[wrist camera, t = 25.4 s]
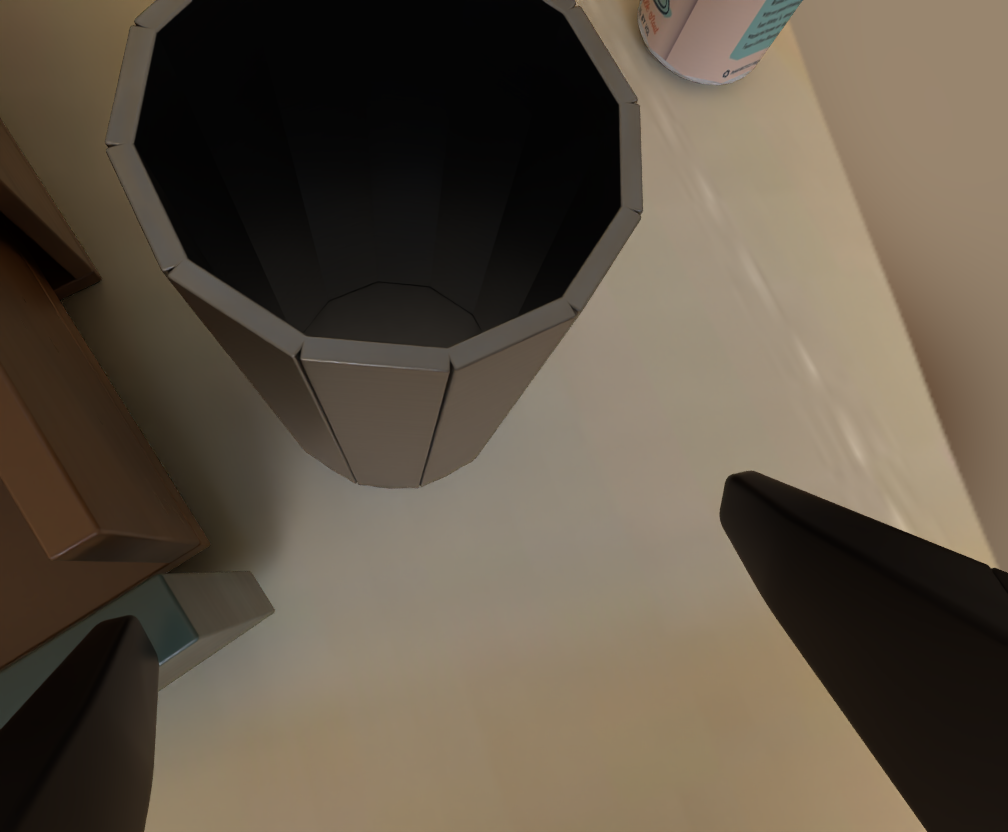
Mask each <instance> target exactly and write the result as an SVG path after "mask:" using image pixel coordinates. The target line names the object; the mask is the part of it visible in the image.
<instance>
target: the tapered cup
mask: <svg viewBox="0 0 1008 832" xmlns="http://www.w3.org/2000/svg"><path fill="white" fill-rule="evenodd" d="M575 5H576V2H575V1H574V0H156V1H155V2H154V3H152V4H151V5H150V6H149V7H148V8H147V9H146V10H145V11H143V12H142V13H141V14H140V15H139V16H138V17H137V18H136V19H135V20H134V22H135V24H136V26H134V25H133V26H131V27H130V30H129V35H128V39H127V44H126V48H125V53H124V57H123V62H122V66H121V71H120V75H119V80H118V85H117V89H116V94H115V98H114V103H113V107H112V112H111V116H110V121H109V125H108V130H107V134H106V139H105V143H106V145H107V147H108V148H107V149H106V153H107V155H108V157H109V159H110V161H111V163H112V166H113V168H114V170H115V172H116V174H117V176H118V178H119V181H120V183H121V185H122V187H123V189H124V191H125V193H126V196H127V198H128V200H129V202H130V204H131V206H132V209H133V211H134V213H135V215H136V217H137V219H138V221H139V224H140V226H141V228H142V230H143V232H144V234H145V236H146V239H147V241H148V243H149V245H150V247H151V249H152V251H153V254H154V256H155V258H156V260H157V262H158V264H159V267H160V269H161V270H162V272H163V273H164V274H165V276H166V277H167V278H168V279H169V281H170V282H171V283H172V284H173V286H174V287H175V288H176V289H177V291H178V292H179V293H180V294H181V296H182V297H183V298H184V299H185V301H186V302H187V303H188V304H189V306H190V307H191V308H192V310H193V311H194V312H195V313H196V315H197V316H198V317H199V318H200V320H201V321H202V322H203V323H204V325H205V326H206V327H207V328H208V330H209V331H210V332H211V333H212V335H213V336H214V337H215V338H216V340H217V341H218V342H219V344H220V345H221V346H222V347H223V349H224V350H225V351H226V352H227V354H228V355H229V356H230V357H231V359H232V360H233V361H234V362H235V364H236V365H237V366H238V367H239V369H240V370H241V371H242V372H243V374H244V375H245V376H246V377H247V379H248V380H249V381H250V383H251V384H252V385H253V386H254V388H255V389H256V390H257V391H258V393H259V394H260V395H261V396H262V398H263V399H264V400H265V401H266V403H267V404H268V405H269V406H270V408H271V409H272V410H273V411H274V413H275V414H276V415H277V417H278V418H279V419H280V420H281V422H282V423H283V424H284V425H285V427H286V428H287V429H288V430H289V432H290V433H291V434H292V435H293V437H294V438H295V439H296V440H297V442H298V443H299V444H300V445H301V447H302V448H303V449H304V450H305V451H306V452H307V453H308V454H310V455H311V456H313V457H315V458H316V459H318V460H319V461H321V462H322V463H323V464H325V465H326V466H327V467H329V468H330V469H331V470H333V471H335V472H336V473H338V474H340V475H342V476H344V477H346V478H347V479H349V480H350V481H352V482H353V483H355V484H356V483H357V482H358V484H359V485H370V486H374V487H383V488H407V487H411V488H418V487H419V486H421V487H423V486H425V485H427V484H429V483H431V482H434V481H436V480H438V479H441V478H443V477H445V476H447V475H449V474H451V473H452V472H454V471H456V470H458V469H459V468H461V467H463V466H464V465H466V464H468V463H470V462H472V461H473V460H474V459H476V457H477V456H478V455H479V453H480V452H481V450H482V449H483V448H484V446H485V445H486V444H487V442H488V441H489V439H490V438H491V437H492V435H493V434H494V432H495V431H496V430H497V428H498V427H499V426H500V424H501V423H502V421H503V420H504V419H505V417H506V416H507V414H508V413H509V412H510V410H511V409H512V408H513V406H514V405H515V403H516V402H517V401H518V399H519V398H520V397H521V395H522V394H523V392H524V391H525V390H526V388H527V387H528V385H529V384H530V383H531V381H532V380H533V379H534V377H535V376H536V374H537V373H538V372H539V370H540V369H541V367H542V366H543V365H544V363H545V362H546V361H547V359H548V358H549V356H550V355H551V354H552V352H553V351H554V350H555V348H556V347H557V345H558V344H559V343H560V341H561V340H562V338H563V337H564V336H565V334H566V333H567V332H568V330H569V329H570V327H571V326H572V325H573V323H574V322H575V320H576V319H577V318H578V316H579V315H580V314H581V312H582V311H583V309H584V308H585V306H586V304H587V303H588V301H589V300H590V298H591V297H592V295H593V293H594V292H595V290H596V289H597V287H598V286H599V284H600V282H601V281H602V279H603V278H604V276H605V275H606V273H607V271H608V270H609V268H610V267H611V265H612V264H613V262H614V260H615V259H616V257H617V256H618V254H619V253H620V251H621V249H622V248H623V246H624V245H625V243H626V242H627V240H628V238H629V237H630V235H631V234H632V232H633V231H634V229H635V227H636V226H637V224H638V223H639V221H640V220H641V216H640V215H641V213H642V212H643V194H642V160H641V127H640V105H638V104H636V103H637V101H638V99H637V97H636V95H635V94H634V92H633V90H632V89H631V87H630V85H629V84H628V82H627V81H626V79H625V77H624V76H623V74H622V73H621V71H620V69H619V68H618V66H617V64H616V63H615V61H614V60H613V58H612V56H611V55H610V53H609V52H608V50H607V48H606V47H605V45H604V43H603V42H602V40H601V39H600V37H599V35H598V34H597V32H596V31H595V29H594V27H593V26H592V24H591V22H590V21H589V19H588V18H587V16H586V14H585V13H584V11H583V9H582V8H581V7H580V6H577V7H575Z"/></svg>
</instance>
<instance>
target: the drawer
mask: <svg viewBox="0 0 1008 832" xmlns="http://www.w3.org/2000/svg"><path fill="white" fill-rule="evenodd" d="M209 546H210V542H209V540H208V539H207V537H206V535H205V534H204V532H203V530H202V529H201V527H200V526H199V524H198V522H197V521H196V519H195V518H194V516H193V514H192V513H191V511H190V510H189V508H188V506H187V505H186V503H185V502H184V500H183V498H182V497H181V495H180V493H179V492H178V490H177V489H176V487H175V485H174V484H173V482H172V481H171V479H170V477H169V476H168V474H167V473H166V471H165V469H164V468H163V466H162V465H161V463H160V461H159V460H158V458H157V456H156V455H155V453H154V452H153V450H152V448H151V447H150V445H149V444H148V442H147V440H146V439H145V437H144V436H143V434H142V432H141V431H140V429H139V428H138V426H137V424H136V423H135V421H134V420H133V418H132V416H131V415H130V413H129V411H128V410H127V408H126V407H125V405H124V403H123V402H122V400H121V399H120V397H119V395H118V394H117V392H116V391H115V389H114V387H113V386H112V384H111V383H110V381H109V379H108V378H107V376H106V374H105V373H104V371H103V370H102V368H101V366H100V365H99V363H98V362H97V360H96V358H95V357H94V355H93V354H92V352H91V350H90V349H89V347H88V346H87V344H86V342H85V341H84V339H83V338H82V336H81V334H80V333H79V331H78V329H77V328H76V326H75V325H74V323H73V321H72V320H71V318H70V317H69V315H68V313H67V312H66V310H65V309H64V307H63V305H62V304H61V302H60V301H59V299H58V297H57V296H56V294H55V292H54V291H53V289H52V288H51V286H50V284H49V283H48V281H47V280H46V278H45V276H44V275H43V273H42V272H41V270H40V268H39V267H38V265H37V264H36V262H35V260H34V259H33V257H32V255H31V254H30V252H29V251H28V249H27V247H26V246H25V244H24V243H23V241H22V239H21V238H20V236H19V235H18V233H17V231H16V230H15V228H14V227H13V225H12V223H11V222H10V221H9V220H8V219H6V218H5V217H4V216H3V215H2V214H1V213H0V729H1V728H2V727H3V726H4V725H5V724H6V723H7V722H8V721H9V719H10V718H11V717H12V716H13V715H14V714H15V713H16V712H17V711H18V710H19V708H20V707H21V706H22V705H23V704H24V703H25V702H26V701H27V700H28V699H29V698H30V696H31V695H32V694H33V693H34V692H35V691H36V690H37V689H38V688H39V687H40V686H41V684H42V683H43V682H44V681H45V680H46V679H47V678H48V677H49V676H50V675H51V673H52V672H53V671H54V670H55V669H56V668H57V667H58V666H59V665H60V664H61V663H62V661H63V660H64V659H65V658H66V657H67V656H68V655H69V654H70V653H71V652H72V651H73V649H74V648H75V647H76V646H77V645H78V644H79V643H80V642H81V641H82V640H83V638H84V637H85V636H86V635H87V634H88V633H89V632H90V631H91V630H92V629H93V628H94V627H95V626H96V625H97V624H98V623H100V622H102V621H105V620H109V619H113V618H117V617H122V616H126V615H133V616H135V617H136V618H137V619H138V620H139V621H140V623H141V625H142V627H143V629H144V630H145V632H146V634H147V636H148V638H149V640H150V642H151V643H152V645H153V647H154V649H155V651H156V653H157V656H158V661H159V683H158V691H160V690H161V689H163V688H164V687H166V686H167V685H169V684H170V683H172V682H173V681H175V680H176V679H177V678H179V677H180V676H182V675H183V674H185V673H186V672H188V671H189V670H191V669H192V668H194V667H195V666H197V665H198V664H200V663H201V662H203V661H204V660H205V659H207V658H208V657H210V656H211V655H213V654H214V653H216V652H217V651H219V650H220V649H222V648H223V647H225V646H226V645H228V644H229V643H230V642H232V641H233V640H235V639H236V638H238V637H239V636H241V635H242V634H244V633H245V632H247V631H248V630H250V629H251V628H253V627H254V626H256V625H257V624H258V623H260V622H261V621H263V620H264V619H266V618H267V617H269V616H270V615H272V614H273V613H274V612H275V609H274V608H273V606H272V604H271V603H270V601H269V600H268V598H267V596H266V595H265V593H264V592H263V590H262V588H261V587H260V585H259V584H258V582H257V580H256V579H255V577H254V576H253V574H252V572H250V571H233V572H196V573H167V572H169V571H171V570H172V569H174V568H175V567H177V566H179V565H180V564H182V563H183V562H185V561H187V560H188V559H190V558H191V557H193V556H195V555H196V554H198V553H199V552H201V551H203V550H204V549H206V548H207V547H209Z"/></svg>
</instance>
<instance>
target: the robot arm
mask: <svg viewBox="0 0 1008 832" xmlns="http://www.w3.org/2000/svg"><path fill="white" fill-rule="evenodd" d="M720 521H721V524H722V527H723V529H724V531H725V532H726V534H727V536H728V538H729V539H730V541H731V543H732V545H733V547H734V548H735V550H736V552H737V554H738V555H739V557H740V559H741V561H742V562H743V564H744V566H745V568H746V570H747V571H748V573H749V575H750V577H751V578H752V580H753V582H754V584H755V585H756V587H757V589H758V591H759V592H760V594H761V596H762V597H763V599H764V601H765V602H766V604H767V605H768V607H769V608H770V610H771V611H772V613H773V614H774V616H775V617H776V619H777V620H778V622H779V623H780V624H781V626H782V627H783V629H784V630H785V631H786V633H787V634H788V636H789V637H790V639H791V640H792V641H793V643H794V644H795V646H796V647H797V648H798V650H799V651H800V653H801V654H802V656H803V657H804V658H805V660H806V661H807V663H808V664H809V665H810V667H811V668H812V670H813V671H814V672H815V674H816V675H817V677H818V678H819V680H820V681H821V682H822V684H823V685H824V687H825V688H826V689H827V691H828V692H829V694H830V695H831V696H832V698H833V699H834V701H835V702H836V704H837V705H838V706H839V708H840V709H841V711H842V712H843V713H844V715H845V716H846V718H847V719H848V721H849V722H850V723H851V725H852V726H853V728H854V729H855V730H856V732H857V733H858V735H859V736H860V737H861V739H862V740H863V742H864V743H865V745H866V746H867V747H868V749H869V750H870V752H871V753H872V754H873V756H874V757H875V759H876V760H877V761H878V763H879V764H880V766H881V767H882V769H883V770H884V771H885V773H886V774H887V776H888V777H889V778H890V780H891V781H892V783H893V784H894V785H895V787H896V788H897V790H898V791H899V793H900V794H901V795H902V797H903V798H904V800H905V801H906V802H907V804H908V805H909V807H910V808H911V810H912V811H913V812H914V814H915V815H916V817H917V818H918V819H919V821H920V822H921V824H922V825H923V826H924V828H925V829H926V831H927V832H1008V573H1007V572H1004V571H1002V570H999V569H997V568H992V569H991V568H990V567H989V566H988V565H986V564H984V563H981V562H979V561H977V560H974V559H972V558H969V557H967V556H964V555H962V554H959V553H957V552H954V551H952V550H949V549H947V548H944V547H942V546H939V545H937V544H934V543H932V542H929V541H927V540H924V539H922V538H919V537H917V536H914V535H912V534H909V533H907V532H904V531H902V530H899V529H897V528H894V527H892V526H889V525H887V524H884V523H882V522H880V521H877V520H875V519H872V518H870V517H867V516H865V515H862V514H860V513H857V512H855V511H852V510H850V509H847V508H845V507H842V506H840V505H837V504H835V503H832V502H830V501H827V500H825V499H822V498H820V497H817V496H815V495H812V494H810V493H807V492H805V491H802V490H800V489H797V488H795V487H792V486H790V485H787V484H785V483H783V482H780V481H778V480H775V479H773V478H770V477H768V476H765V475H763V474H760V473H758V472H755V471H745V472H741V473H736V474H732V475H730V476H729V477H728V478H727V479H726V482H725V486H724V491H723V497H722V502H721V507H720ZM158 683H159V661H158V656H157V653H156V651H155V649H154V647H153V645H152V643H151V642H150V640H149V638H148V636H147V634H146V632H145V630H144V629H143V627H142V625H141V623H140V621H139V620H138V619H137V618H136V617H135V616H133V615H126V616H122V617H117V618H113V619H109V620H105V621H102V622H100V623H98V624H97V625H96V626H95V627H94V628H93V629H92V630H91V631H90V632H89V633H88V634H87V635H86V636H85V637H84V638H83V640H82V641H81V642H80V643H79V644H78V645H77V646H76V647H75V648H74V649H73V651H72V652H71V653H70V654H69V655H68V656H67V657H66V658H65V659H64V660H63V661H62V663H61V664H60V665H59V666H58V667H57V668H56V669H55V670H54V671H53V672H52V673H51V675H50V676H49V677H48V678H47V679H46V680H45V681H44V682H43V683H42V684H41V686H40V687H39V688H38V689H37V690H36V691H35V692H34V693H33V694H32V695H31V696H30V698H29V699H28V700H27V701H26V702H25V703H24V704H23V705H22V706H21V707H20V708H19V710H18V711H17V712H16V713H15V714H14V715H13V716H12V717H11V718H10V719H9V721H8V722H7V723H6V724H5V725H4V726H3V727H2V728H1V729H0V832H144V830H145V824H146V818H147V812H148V807H149V801H150V794H151V787H152V780H153V768H154V753H155V735H156V718H157V700H158Z"/></svg>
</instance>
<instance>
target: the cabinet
mask: <svg viewBox="0 0 1008 832" xmlns="http://www.w3.org/2000/svg"><path fill="white" fill-rule="evenodd" d="M0 213H1V214H2V215H3V216H4V217H5V218H6V219H8V220H9V221H10V222H11V223H12V225H13V227H14V228H15V230H16V231H17V233H18V235H19V236H20V238H21V239H22V241H23V243H24V244H25V246H26V247H27V249H28V251H29V252H30V254H31V255H32V257H33V259H34V260H35V262H36V264H37V265H38V267H39V268H40V270H41V272H42V273H43V275H44V276H45V278H46V280H47V281H48V283H49V284H50V286H51V288H52V289H53V291H54V292H55V294H56V296H57V297H58V299H59V300H61V299H63V298H65V297H67V296H69V295H71V294H74V293H76V292H78V291H80V290H82V289H84V288H86V287H88V286H90V285H93V284H95V283H97V282H99V281H101V280H102V277H101V276H100V274H99V273H98V271H97V270H96V268H95V266H94V265H93V263H92V262H91V260H90V258H89V257H88V255H87V254H86V252H85V251H84V249H83V247H82V246H81V244H80V243H79V241H78V240H77V238H76V236H75V235H74V233H73V232H72V230H71V229H70V227H69V225H68V224H67V222H66V221H65V219H64V217H63V216H62V214H61V213H60V211H59V210H58V208H57V206H56V205H55V203H54V202H53V200H52V199H51V197H50V195H49V194H48V192H47V191H46V189H45V187H44V186H43V184H42V183H41V181H40V180H39V178H38V176H37V175H36V173H35V172H34V170H33V169H32V167H31V165H30V164H29V162H28V161H27V159H26V158H25V156H24V154H23V153H22V151H21V150H20V148H19V146H18V145H17V143H16V142H15V140H14V139H13V137H12V135H11V134H10V132H9V131H8V129H7V128H6V126H5V124H4V123H3V121H2V120H1V118H0Z"/></svg>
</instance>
